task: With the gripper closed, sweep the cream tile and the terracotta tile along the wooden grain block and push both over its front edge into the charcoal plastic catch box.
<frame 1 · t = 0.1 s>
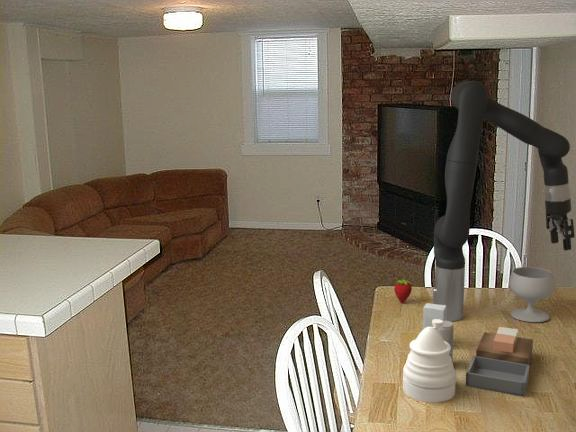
hand: (561, 246, 200), 22 cm above the table, tool pointing down, fingers open, 8 cm apart
tile front: (504, 347, 167), point 5 cm above the table, touching wooden grain block
energy drink: (442, 365, 169), on the table
strawberry: (402, 304, 216), on the table
chalice: (529, 316, 201), on the table
catch box: (497, 381, 159), on the table
tile back: (506, 339, 172), point 5 cm above the table, touching wooden grain block
honey pot: (428, 390, 156), on the table
skincare box: (434, 345, 182), on the table
wooden grain block: (504, 361, 170), on the table
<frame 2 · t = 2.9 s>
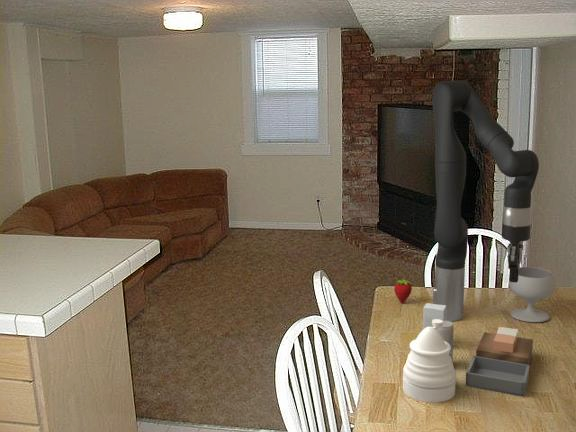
hand: (513, 281, 177), 19 cm above the table, tool pointing down, fingers closed
nothing on the table moved.
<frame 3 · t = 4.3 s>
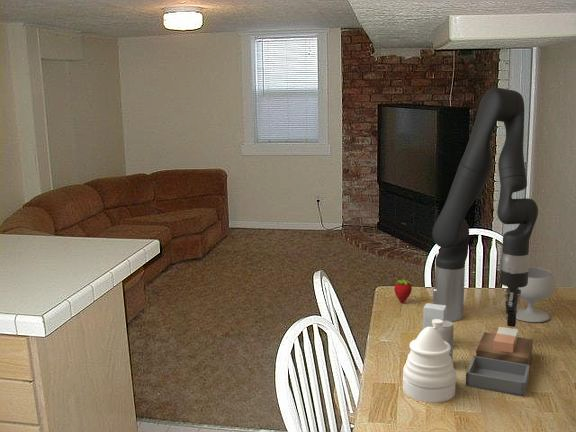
hand: (511, 325, 179), 6 cm above the table, tool pointing down, fingers closed
nothing on the table moved.
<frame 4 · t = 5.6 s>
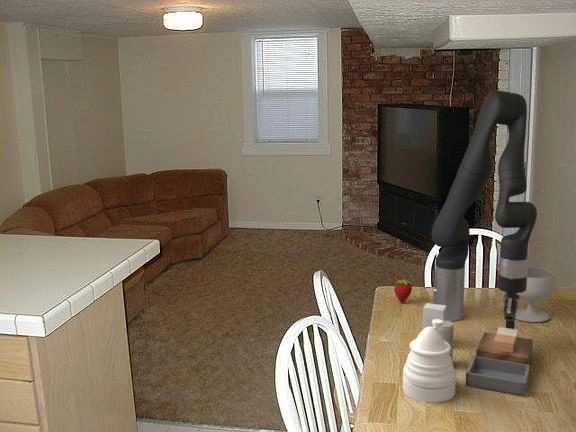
hand: (509, 331, 175), 6 cm above the table, tool pointing down, fingers closed
tile back: (506, 340, 172), point 5 cm above the table, touching wooden grain block, gripper
everything else where it was.
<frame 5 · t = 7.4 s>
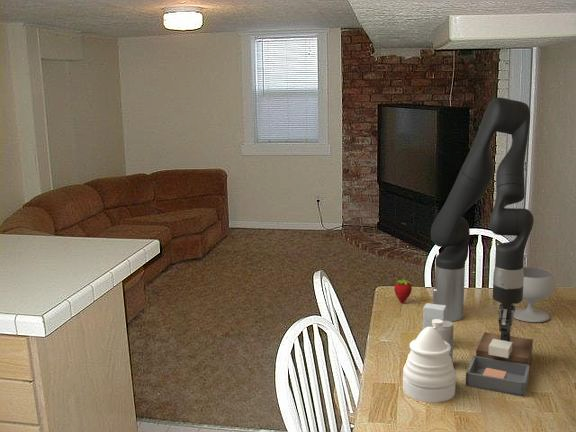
hand: (505, 344, 167), 6 cm above the table, tool pointing down, fingers closed
tile front: (494, 373, 157), point 3 cm above the table, tilted 180°, touching catch box
tile back: (500, 352, 164), point 5 cm above the table, touching wooden grain block, gripper
everything else where it was.
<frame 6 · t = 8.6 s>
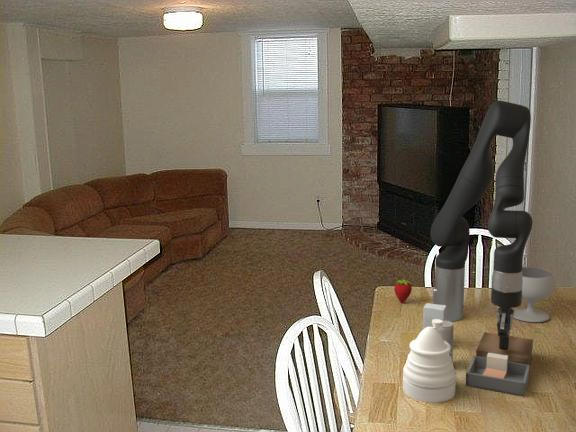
hand: (503, 348, 164), 6 cm above the table, tool pointing down, fingers closed
tile back: (497, 362, 163), point 3 cm above the table, tilted 90°, touching catch box
everything else where it was.
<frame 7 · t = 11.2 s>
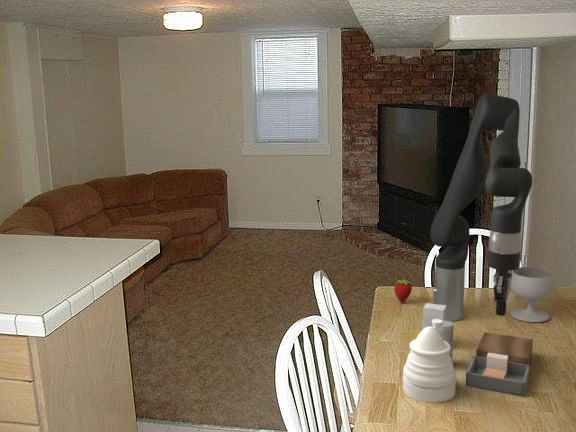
hand: (500, 314, 157), 18 cm above the table, tool pointing down, fingers closed
nothing on the table moved.
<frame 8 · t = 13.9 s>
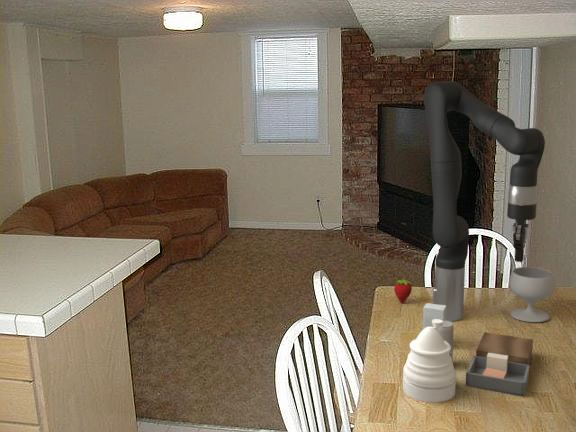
hand: (518, 261, 176), 25 cm above the table, tool pointing down, fingers closed
nothing on the table moved.
at the end: tile front inside the target area on the catch box (2.1 cm from its centre), point 3.0 cm above the catch box's base; tile back inside the target area on the catch box (4.6 cm from its centre), point 3.0 cm above the catch box's base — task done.
